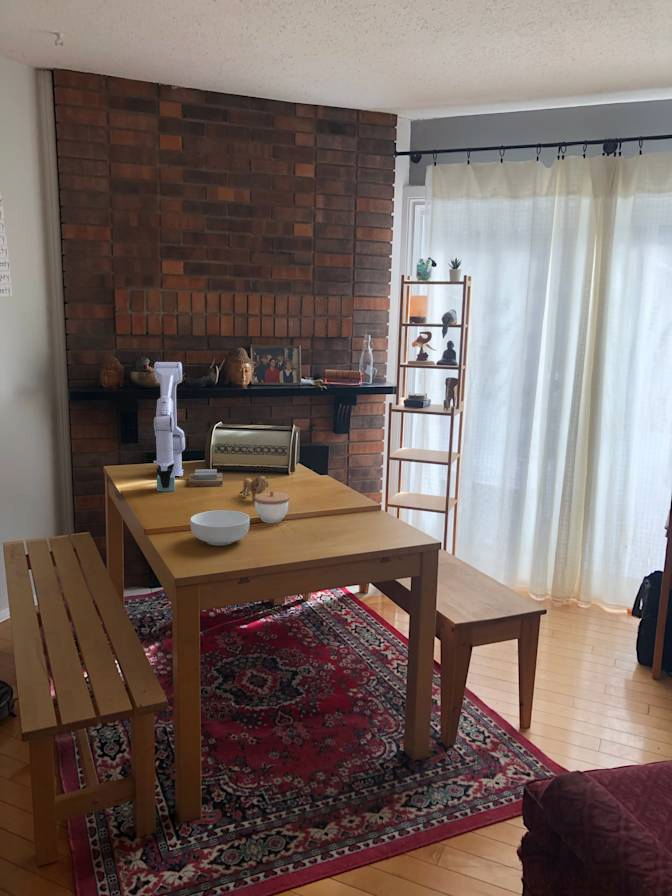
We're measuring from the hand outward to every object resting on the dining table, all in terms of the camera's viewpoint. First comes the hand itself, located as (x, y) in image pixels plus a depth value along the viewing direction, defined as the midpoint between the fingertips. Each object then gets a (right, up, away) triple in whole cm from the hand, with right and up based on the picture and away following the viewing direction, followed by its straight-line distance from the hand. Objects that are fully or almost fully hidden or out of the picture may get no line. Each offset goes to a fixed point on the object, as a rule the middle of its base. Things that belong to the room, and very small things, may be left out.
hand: (166, 485), depth 265 cm
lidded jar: (+41, -9, -33) cm, 53 cm away
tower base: (+12, +1, +11) cm, 17 cm away
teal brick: (0, -1, 0) cm, 1 cm away
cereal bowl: (+28, -13, -53) cm, 61 cm away
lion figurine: (+33, -4, -10) cm, 34 cm away
